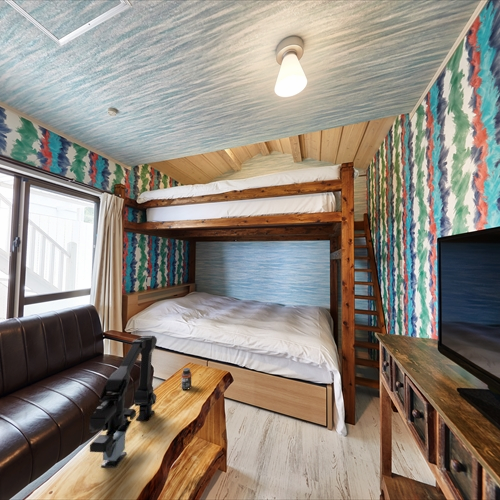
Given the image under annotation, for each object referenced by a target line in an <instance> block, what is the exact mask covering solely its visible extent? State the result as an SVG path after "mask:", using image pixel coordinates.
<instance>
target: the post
mask: <svg viewBox="0 0 500 500" xmlns="http://www.w3.org/2000/svg"><path fill="white" fill-rule="evenodd" d="M126 455H127V451H123V452H122V453H121V455H120V456H119V457H118V459H117V460H116V461H111V460H103V462H102V464H101V465H100V467H101V468H114V469H115V468H118V466H119V465H120V463H121V461H122V460H123V459H124V458H125V456H126Z"/></svg>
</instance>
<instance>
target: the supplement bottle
mask: <svg viewBox="0 0 500 500" xmlns="http://www.w3.org/2000/svg"><path fill="white" fill-rule="evenodd" d="M190 387H191V388H192V371H191V368H190V367H185V368H183V369H182V373H181V390H182V389H188V388H190ZM191 388H190V389H191ZM188 390H189V389H188Z"/></svg>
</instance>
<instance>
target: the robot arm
mask: <svg viewBox="0 0 500 500" xmlns="http://www.w3.org/2000/svg"><path fill="white" fill-rule="evenodd" d="M157 343H158V341H157V337H156V336H155V335H142V336H140V337H139V338H136V339H133V340H132V341H131V346H130V348H129V350H128V352H127V354H126V355H125V357H124V359H123V360H122V361H121V364H120V365H119V367H118V368H117V369H116V370H114V371H113V372H112V373H111V375H109V377H108V378H107V380H106V381H105V383H104V385H103V389H102V391H101V394H100V396H99V399H98V401H99V402H102V403H101V404H100V405H98V406H97V407H96V408H95V411H94V412H93V414H91V416H90V418H89V433H95V432H97V431H100V430H101V431H102V432H105V431H106V432H105V434H98V436H97V437H96V438H95V439H94V440H93V441H92V442H91V443H90V445H89V452H90V453H103V452H106V455H107V457H108V458H110V457H111V455H112V453H113V450H114V446H115V443H116V440H115V439H113V438H114V434H115V433H116V432H117V431H121V432H125V435H126V433H127V431H128V429H129V427H130V425H131V424H132V421H133V420H134V419H135V420H136V421H145V422H146V421H149V420H150V419H151V417H152V416H153V415H154V413H155V412H156V411H155V410H154V409H153V405H155V404H156V401H157V394H156V393H155V392H154V386H153V384H152V383H151V371H152V360H153V359H152V357H153V352H154V350H155V348H156V345H157ZM140 355H141V357H140V368H139V369H140V373H139V385H138V387H137V389H136V390H135V391H134V397H133V401H134V405H135V407H136V406H137V407H139V408H138V409H139V410H138V415H137V411H136V409H135V408H127V407H125V399H126V398H125V396H126V395H125V394H126V393H127V391H128V387H129V385H130V384H129V382H130V380H131V371H132V369H133V368H134V365H136V362H137V359H138V358H139V356H140ZM108 393H109V394H108ZM110 393H111V394H110ZM136 416H137V417H136ZM135 417H136V418H135ZM128 418H129V419H130V420H129V419H128Z"/></svg>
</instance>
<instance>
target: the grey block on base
mask: <svg viewBox="0 0 500 500" xmlns="http://www.w3.org/2000/svg"><path fill="white" fill-rule="evenodd" d="M113 439H115V440H116V443H115V446H114V450H113V453H112V455H111V457H110V458H108V457H107V455H106V452H102V461H105V460H111V461H116V460H117V459H118V457H119V456H120V455H121V453H122V452H125V450H126V434H125V432H121V431H117V432H116V433H115V434H114V438H113Z"/></svg>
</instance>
